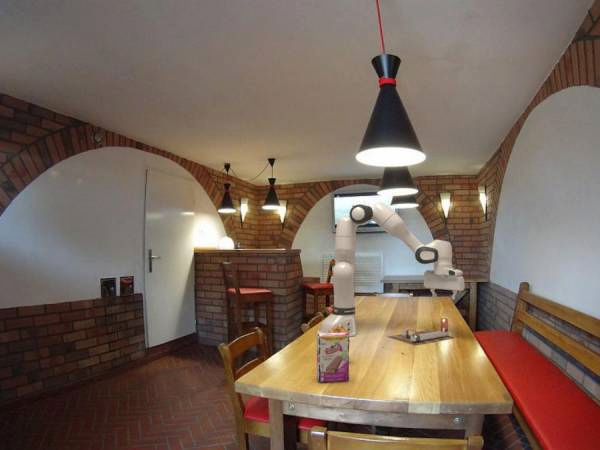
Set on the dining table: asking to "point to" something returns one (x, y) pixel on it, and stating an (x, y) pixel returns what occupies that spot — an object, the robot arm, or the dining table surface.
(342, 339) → the candy bar box
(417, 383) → the dining table surface
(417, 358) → the dining table surface
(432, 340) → the nutcracker base
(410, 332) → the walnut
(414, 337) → the lever
